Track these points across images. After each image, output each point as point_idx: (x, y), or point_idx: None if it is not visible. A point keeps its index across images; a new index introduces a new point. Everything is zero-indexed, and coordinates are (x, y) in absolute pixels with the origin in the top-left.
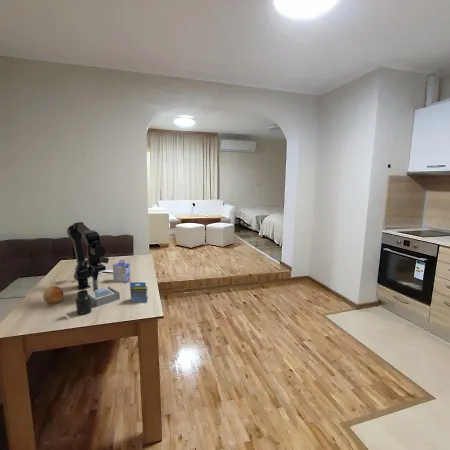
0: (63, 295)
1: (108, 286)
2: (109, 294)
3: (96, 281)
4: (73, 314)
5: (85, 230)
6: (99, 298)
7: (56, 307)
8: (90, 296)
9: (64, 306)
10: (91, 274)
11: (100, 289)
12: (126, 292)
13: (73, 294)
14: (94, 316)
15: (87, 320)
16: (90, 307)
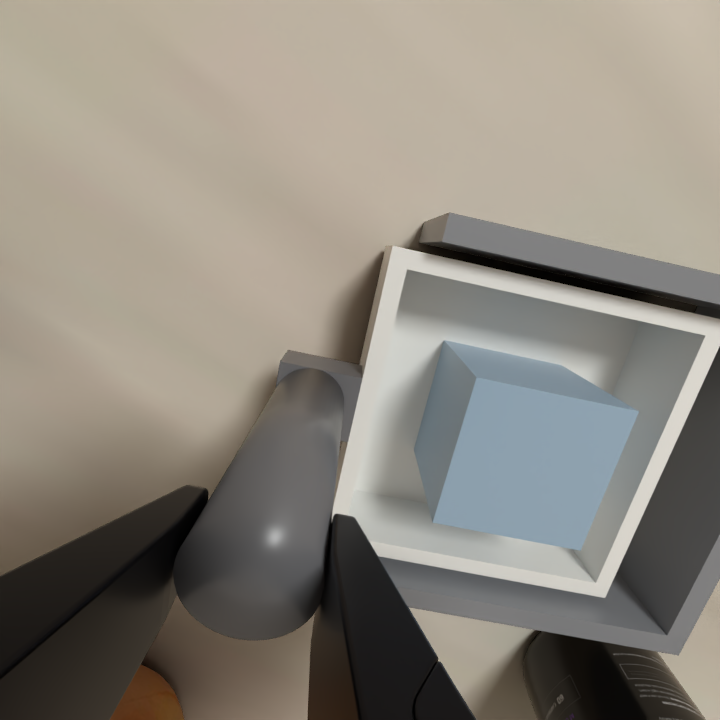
0: (128, 706)
1: (447, 228)
2: (678, 405)
3: (333, 483)
4: (502, 705)
5: None
6: (698, 603)
7: (232, 708)
8: (523, 625)
9: (273, 669)
10: (101, 715)
11: (498, 452)
12: (616, 14)
13: (33, 479)
14: (716, 645)
15: (710, 705)
16: (694, 704)
